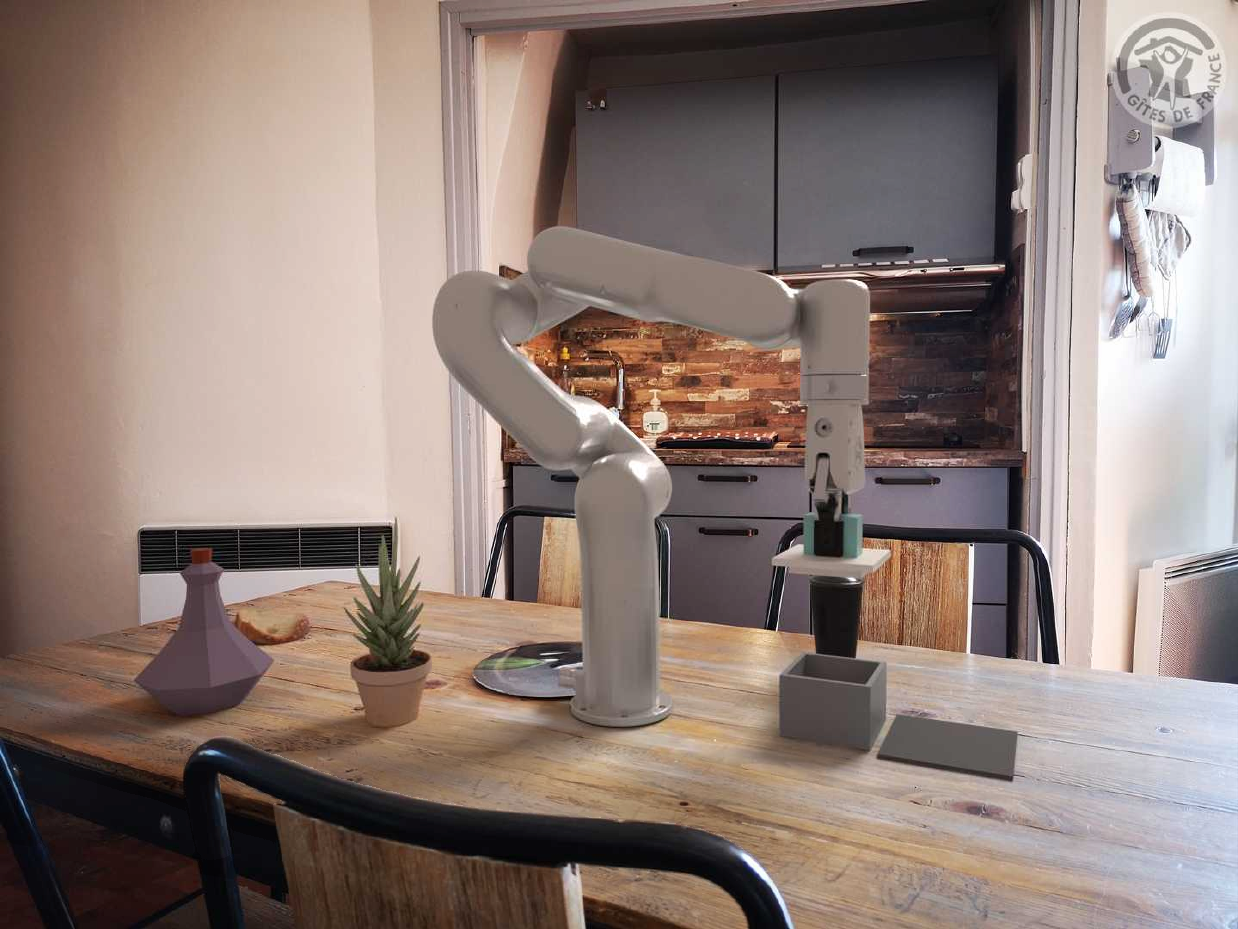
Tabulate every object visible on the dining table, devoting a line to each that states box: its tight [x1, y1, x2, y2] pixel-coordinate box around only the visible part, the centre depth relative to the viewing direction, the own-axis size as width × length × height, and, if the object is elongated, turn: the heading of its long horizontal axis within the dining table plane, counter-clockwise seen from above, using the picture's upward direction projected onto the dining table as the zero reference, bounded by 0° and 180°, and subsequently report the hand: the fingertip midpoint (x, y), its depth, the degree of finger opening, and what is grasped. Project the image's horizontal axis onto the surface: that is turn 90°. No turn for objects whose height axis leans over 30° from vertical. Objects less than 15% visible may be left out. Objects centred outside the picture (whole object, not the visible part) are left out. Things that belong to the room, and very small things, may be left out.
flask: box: [133, 547, 275, 716], centre depth 109 cm, size 16×16×20 cm
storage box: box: [778, 651, 887, 752], centre depth 98 cm, size 10×10×7 cm
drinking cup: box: [807, 575, 866, 659], centre depth 116 cm, size 8×8×20 cm
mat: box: [876, 713, 1018, 781], centre depth 92 cm, size 13×13×1 cm
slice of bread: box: [234, 609, 311, 646], centre depth 146 cm, size 18×18×4 cm
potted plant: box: [342, 516, 433, 728], centre depth 102 cm, size 10×10×25 cm
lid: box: [771, 511, 892, 579], centre depth 96 cm, size 11×11×6 cm
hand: (832, 552), depth 97 cm, fingers closed on lid, 3 cm apart
